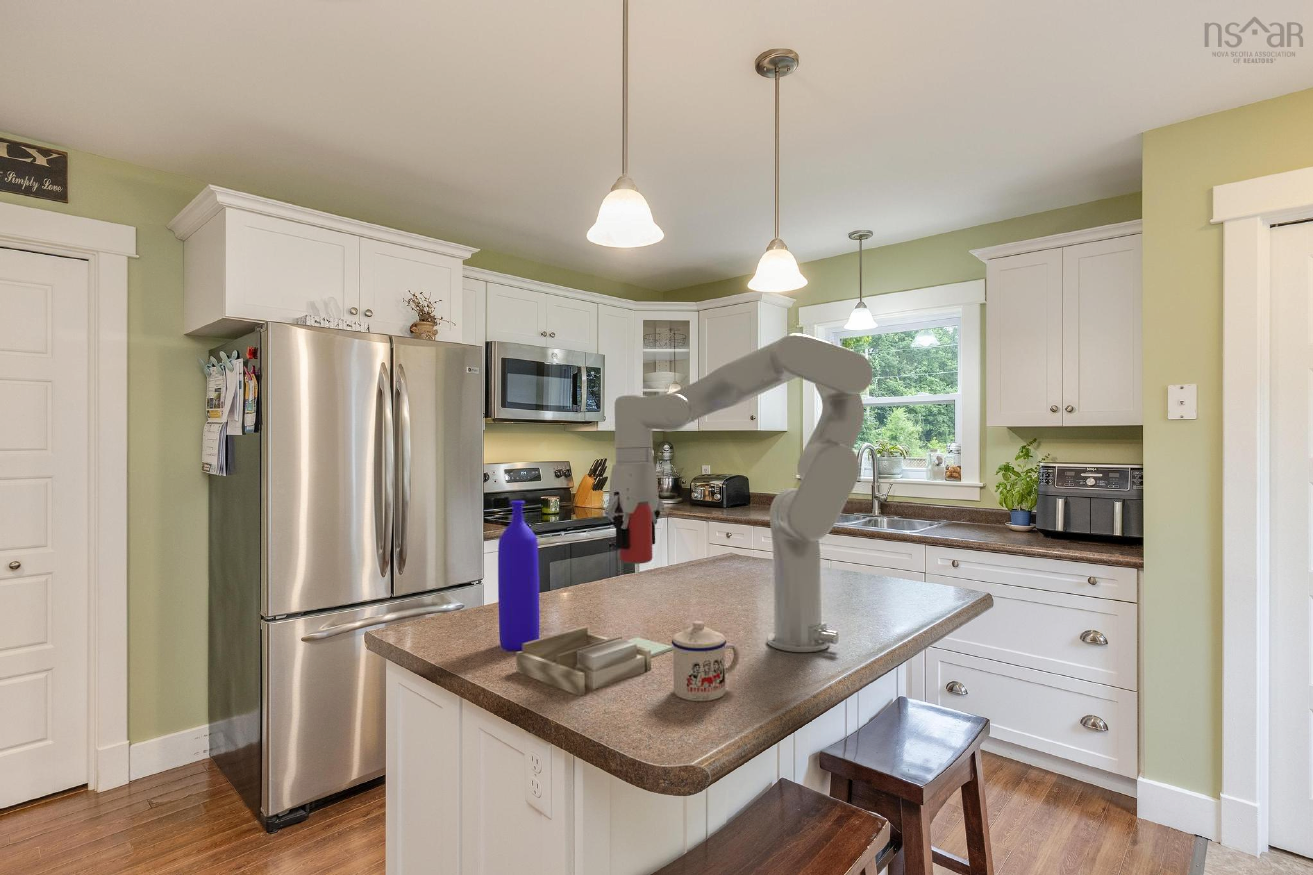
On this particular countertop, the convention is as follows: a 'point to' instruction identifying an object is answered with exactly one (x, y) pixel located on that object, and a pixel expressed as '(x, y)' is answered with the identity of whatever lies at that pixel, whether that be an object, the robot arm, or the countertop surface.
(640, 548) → the beer can
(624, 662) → the offcut stack
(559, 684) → the tray
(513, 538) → the bottle
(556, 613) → the countertop surface
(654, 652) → the mat
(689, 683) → the teacup with lid
